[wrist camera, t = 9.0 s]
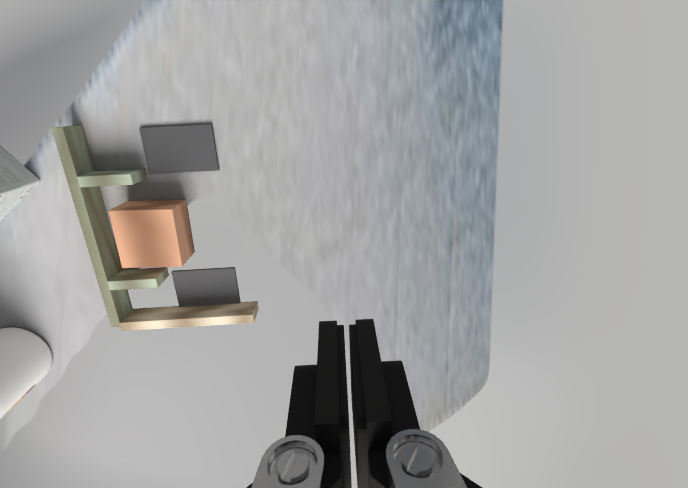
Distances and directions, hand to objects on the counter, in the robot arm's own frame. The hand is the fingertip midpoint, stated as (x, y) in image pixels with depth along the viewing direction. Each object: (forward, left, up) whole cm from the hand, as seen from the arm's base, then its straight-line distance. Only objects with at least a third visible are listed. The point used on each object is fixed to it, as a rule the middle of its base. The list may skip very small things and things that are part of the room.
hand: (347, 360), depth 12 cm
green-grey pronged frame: (+17, +4, -30) cm, 35 cm away
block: (+19, +4, -31) cm, 36 cm away
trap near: (+15, -4, -30) cm, 34 cm away
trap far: (+15, +12, -30) cm, 36 cm away
